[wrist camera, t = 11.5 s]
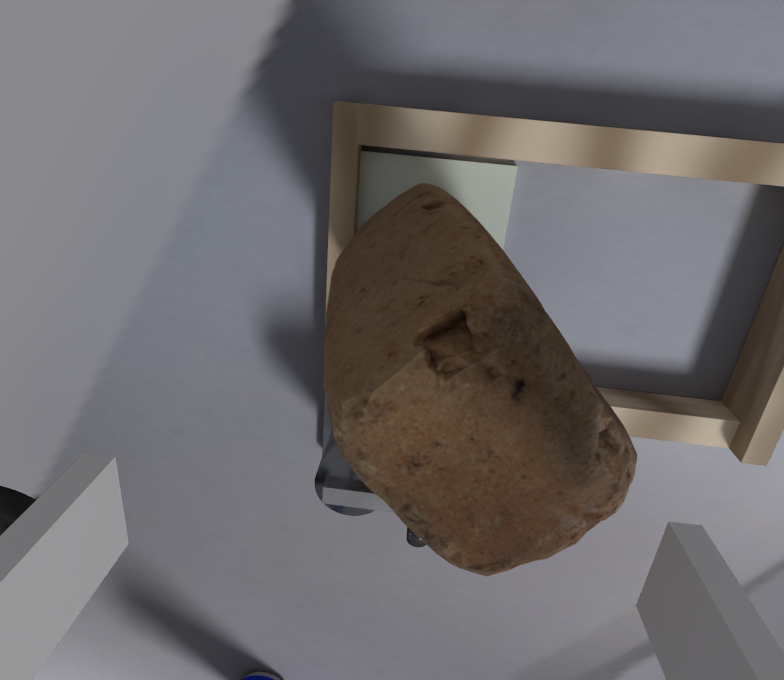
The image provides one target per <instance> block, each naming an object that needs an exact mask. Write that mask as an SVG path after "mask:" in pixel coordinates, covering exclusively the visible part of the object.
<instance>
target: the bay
mask: <svg viewBox="0 0 784 680" xmlns="http://www.w3.org/2000/svg"><path fill="white" fill-rule="evenodd" d="M362 145H367V146H377V147H387V148H397V149H408V150H418V151H428V152H438V153H448V154H459V155H469V156H479V157H489V158H499V159H510V160H520V161H530V162H540V163H550V164H561V165H571V166H581V167H591V168H601V169H612V170H622V171H632V172H642V173H652V174H663V175H673V176H683V177H693V178H703V179H713V180H724V181H734V182H744V183H754V184H764V185H775V186H784V143H776V142H766V141H755V140H744V139H734V138H723V137H713V136H702V135H691V134H681V133H670V132H660V131H649V130H638V129H628V128H617V127H607V126H596V125H585V124H575V123H564V122H554V121H543V120H532V119H522V118H511V117H501V116H490V115H479V114H469V113H458V112H448V111H437V110H426V109H416V108H405V107H395V106H384V105H373V104H363V103H352V102H342V101H333V120H332V148H331V176H330V204H329V232H328V260H327V288H326V311H327V304H328V296H329V290H330V283H331V276H332V272H333V269H334V267H335V263H336V261H337V258H338V256H339V255H340V254H341V253H342V251H343V250H344V249H345V247H346V246H347V245H348V243H349V242H350V240H351V239H352V238H353V236H354V235H355V234H356V231H357V214H358V197H359V179H360V162H361V151H362ZM325 323H326V316H325ZM597 389H598V390H599V391H600V393H601V394H602V396H603V397H604V399H605V400H606V401H607V402H608V404H609V405H610V406H611V407H612V409H613V410H614V412H615V413H616V415H617V416H618V418H619V419H620V421H621V422H622V424H623V425H624V427H625V429H626V430H627V433H628V435H629V436H632V437H641V438H649V439H657V440H665V441H674V442H682V443H690V444H698V445H707V446H715V447H723V448H729V449H730V450H731V451H732V452H733V453H734V455H735V456H736V457H737V458H738V459H739V461H740V462H741V463H748V464H756V465H764V466H767V464H768V461H769V459H770V457H771V455H772V453H773V451H774V449H775V446H776V444H777V442H778V440H779V438H780V436H781V434H782V431H783V429H784V245H783V248H782V250H781V253H780V255H779V258H778V260H777V263H776V265H775V268H774V270H773V273H772V275H771V278H770V280H769V283H768V285H767V288H766V290H765V293H764V295H763V298H762V300H761V303H760V305H759V308H758V310H757V313H756V315H755V318H754V320H753V323H752V325H751V328H750V330H749V333H748V335H747V338H746V340H745V343H744V345H743V348H742V350H741V353H740V356H739V358H738V361H737V363H736V366H735V368H734V371H733V373H732V376H731V378H730V381H729V383H728V386H727V388H726V391H725V393H724V396H723V398H722V401H715V400H706V399H698V398H689V397H681V396H672V395H664V394H655V393H646V392H638V391H629V390H621V389H612V388H604V387H597ZM323 391H326V390H325V380H324V372H323Z"/></svg>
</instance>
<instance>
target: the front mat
mask: <svg viewBox="0 0 784 680" xmlns="http://www.w3.org/2000/svg"><path fill="white" fill-rule="evenodd" d="M517 168H518V166H513V165H503V164H493V163H483V162H473V161H463V160H452V159H442V158H432V157H422V156H412V155H402V154H392V153H381V152H371V151H361V162H360V179H359V197H358V214H357V231H358V230H359V229H360V228H361V227H362V226H363V225H364V224H365V223H366V222H367V221H368V220H369V219H370V218H371V217H372V216H373V215H374V214H375V213H377V212H378V211H379V210H380V209H381V208H383V207H385V206H386V205H387V204H388V203H389V202H391V201H392V200H393V199H394V198H396V197H397V196H398V195H400V194H402V193H403V192H405V191H407V190H409V189H410V188H412V187H414V186H416V185H418V184H421V183H428V184H431V185H435V186H437V187H439V188H441V189H443V190H445V191H446V192H447V193H449V194H450V195H451V196H452V197H454V198H455V199H457V200H458V201H459V202H460V203H461V204H462V205H463V206H464V207H465V208H466V209H467V210H468V211H469V212H470V213H471V214H472V215H473V216H474V217H475V218H476V219H477V220H478V221H479V222H480V223H481V224H482V225H483V227H484V228H485V229H486V230H487V231H488V232H489V233H490V235H491V236H492V237H493V238H494V240H495V241H496V242H497V243H498V244H499V246H500V247H501V248H502V249H503V247H504V242H505V236H506V230H507V225H508V219H509V213H510V208H511V202H512V196H513V191H514V185H515V179H516V173H517ZM357 231H356V233H357Z"/></svg>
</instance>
